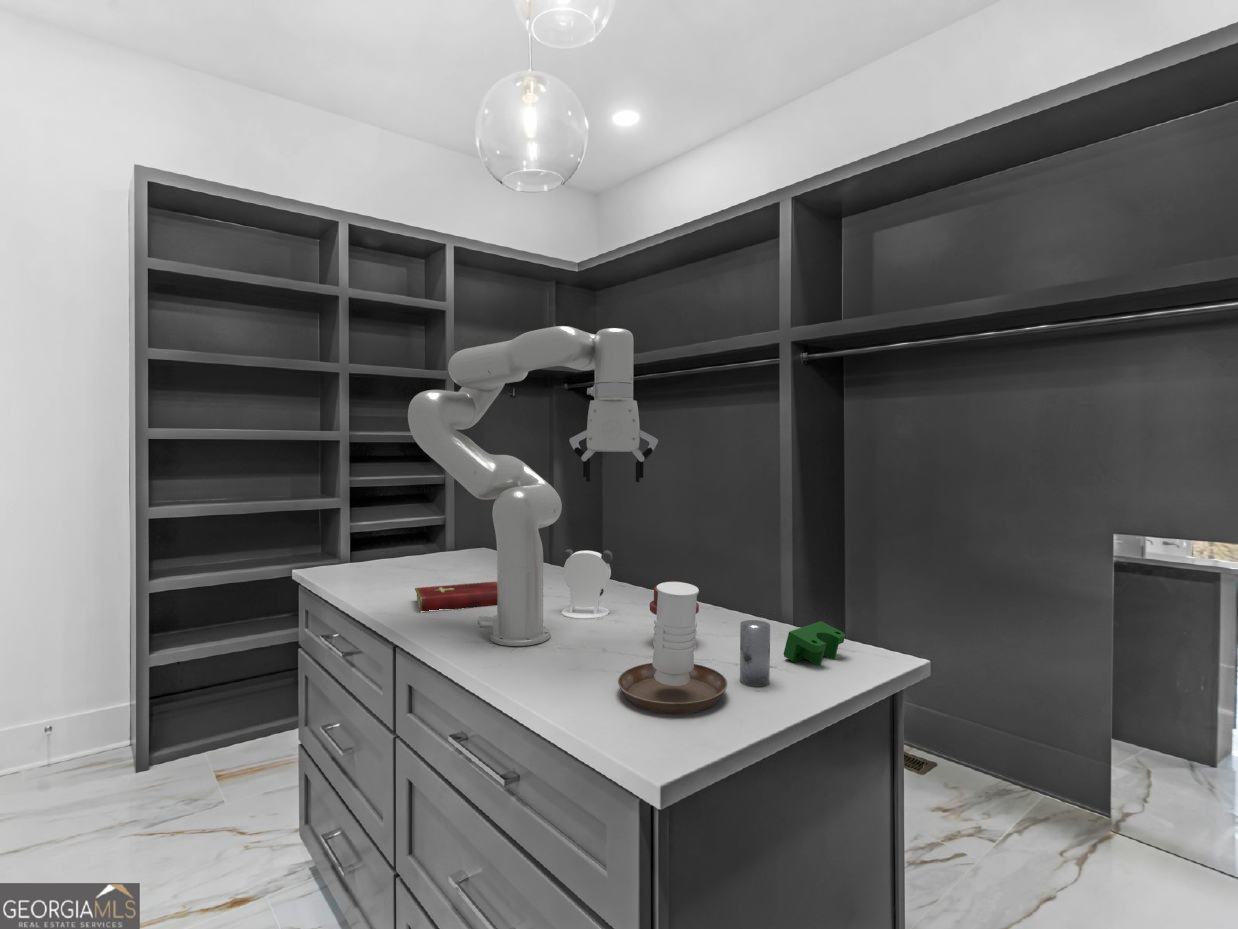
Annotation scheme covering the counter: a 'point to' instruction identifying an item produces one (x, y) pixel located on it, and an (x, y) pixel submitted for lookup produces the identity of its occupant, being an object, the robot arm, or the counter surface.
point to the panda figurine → (586, 582)
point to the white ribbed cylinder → (675, 633)
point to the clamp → (813, 643)
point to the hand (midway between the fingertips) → (613, 481)
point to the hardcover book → (457, 596)
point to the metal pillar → (754, 653)
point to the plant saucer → (672, 690)
